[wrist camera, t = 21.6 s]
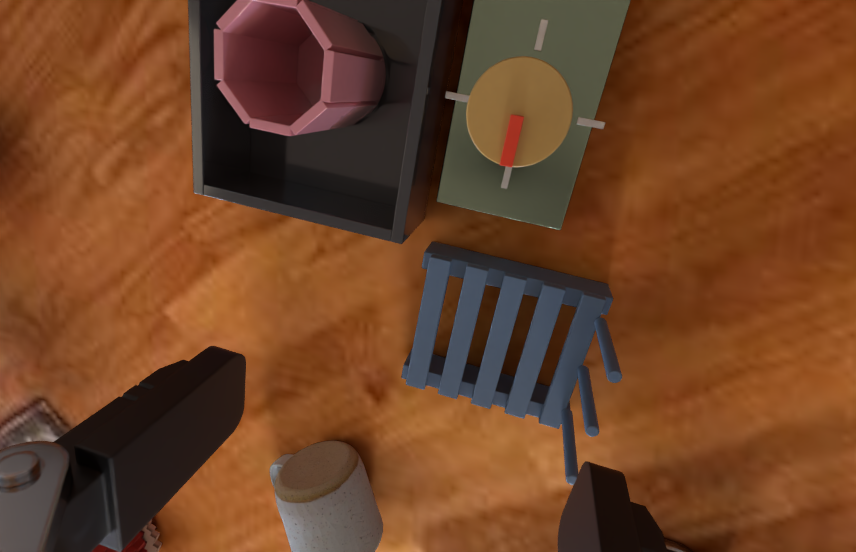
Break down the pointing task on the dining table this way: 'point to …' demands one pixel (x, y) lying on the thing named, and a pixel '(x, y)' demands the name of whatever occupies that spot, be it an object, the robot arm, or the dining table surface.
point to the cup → (296, 66)
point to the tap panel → (585, 76)
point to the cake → (139, 542)
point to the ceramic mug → (326, 500)
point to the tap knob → (519, 111)
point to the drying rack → (487, 379)
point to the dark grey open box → (336, 148)
